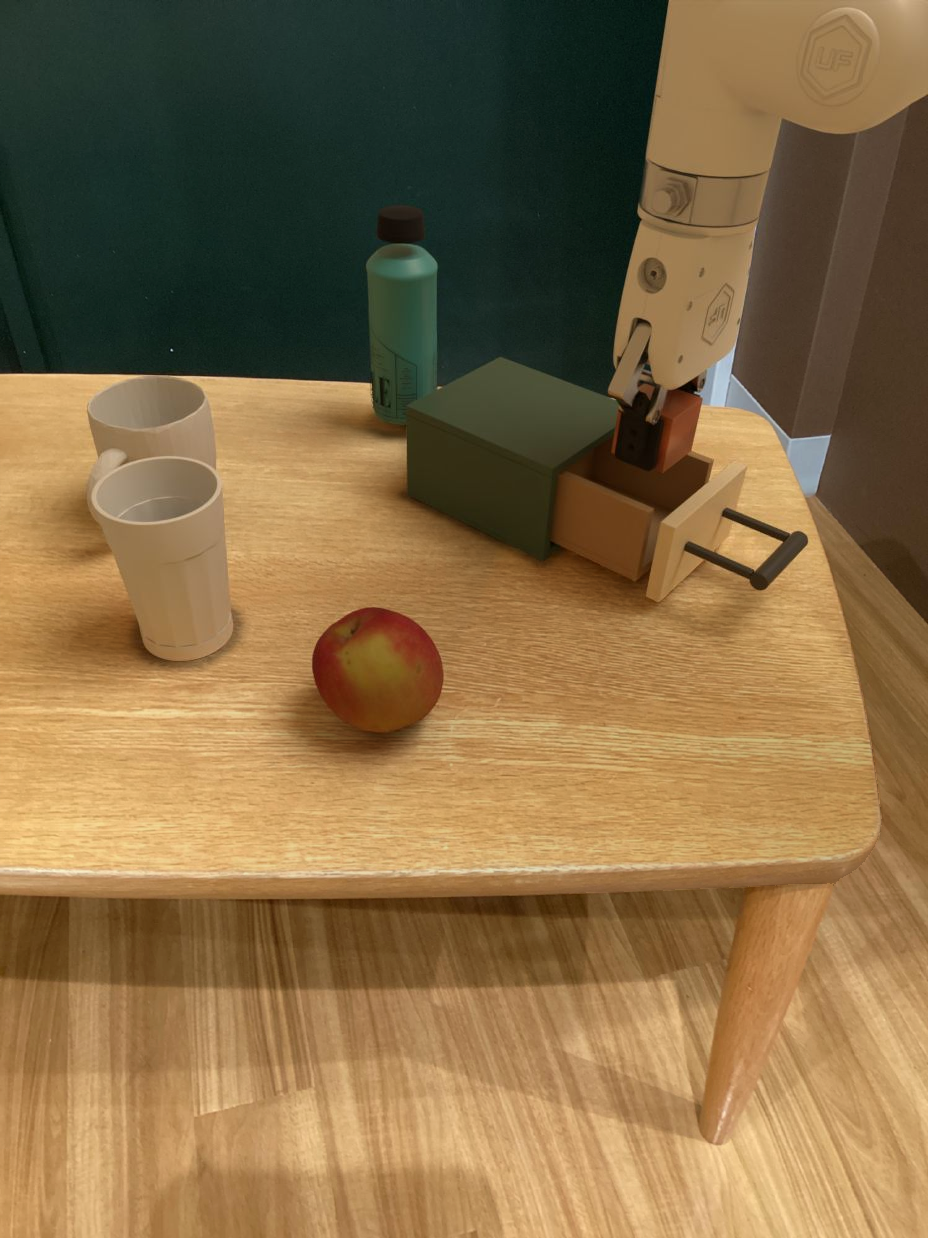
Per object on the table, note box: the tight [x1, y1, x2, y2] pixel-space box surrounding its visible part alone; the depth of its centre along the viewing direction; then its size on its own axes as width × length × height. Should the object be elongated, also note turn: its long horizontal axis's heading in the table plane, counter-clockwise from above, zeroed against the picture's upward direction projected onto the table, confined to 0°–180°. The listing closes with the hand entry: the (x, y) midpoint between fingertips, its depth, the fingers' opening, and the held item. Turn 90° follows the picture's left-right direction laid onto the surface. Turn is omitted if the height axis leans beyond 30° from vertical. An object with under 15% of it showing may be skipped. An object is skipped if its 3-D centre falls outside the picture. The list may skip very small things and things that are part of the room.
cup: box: [91, 456, 234, 662], centre depth 62 cm, size 8×8×12 cm
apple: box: [311, 606, 445, 733], centre depth 58 cm, size 8×8×8 cm
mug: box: [85, 375, 217, 525], centre depth 73 cm, size 13×9×10 cm
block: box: [611, 383, 704, 473], centre depth 68 cm, size 4×4×4 cm
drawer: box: [550, 436, 809, 603], centre depth 72 cm, size 20×11×7 cm, turn 51°
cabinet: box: [405, 356, 619, 562], centre depth 78 cm, size 15×13×9 cm
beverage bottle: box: [365, 204, 440, 426], centre depth 84 cm, size 6×7×20 cm
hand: (652, 447), depth 69 cm, fingers closed on block, 4 cm apart
